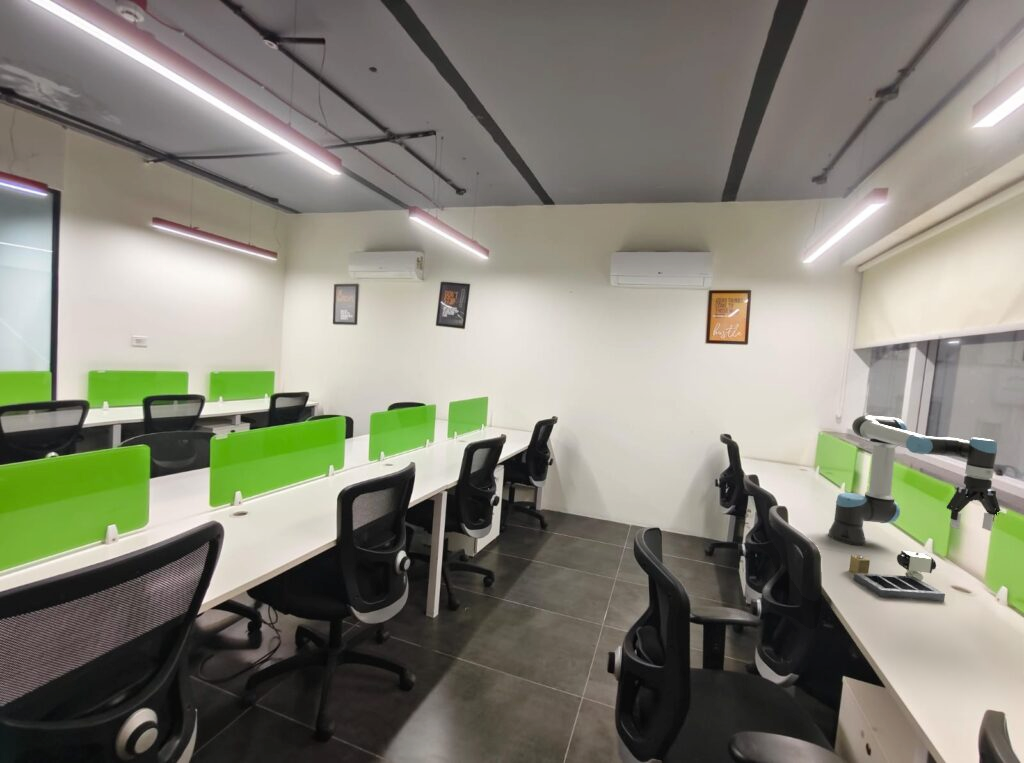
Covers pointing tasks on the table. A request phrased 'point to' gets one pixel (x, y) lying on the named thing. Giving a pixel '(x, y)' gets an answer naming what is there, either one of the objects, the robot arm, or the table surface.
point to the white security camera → (916, 563)
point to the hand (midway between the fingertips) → (970, 528)
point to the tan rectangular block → (859, 564)
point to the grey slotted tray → (898, 587)
